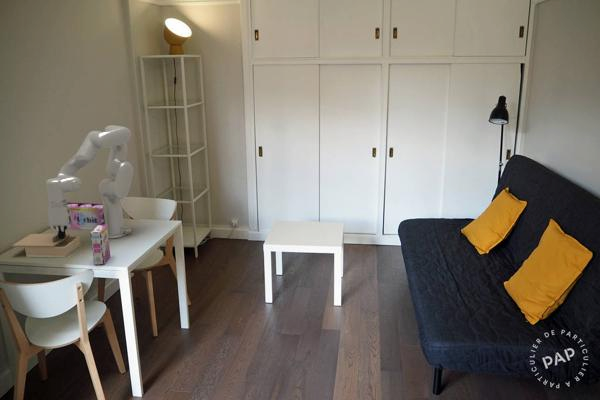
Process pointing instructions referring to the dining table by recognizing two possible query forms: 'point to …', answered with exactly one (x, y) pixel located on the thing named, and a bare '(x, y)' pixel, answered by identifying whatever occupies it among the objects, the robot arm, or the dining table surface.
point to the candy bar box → (100, 244)
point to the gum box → (86, 215)
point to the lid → (40, 240)
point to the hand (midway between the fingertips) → (62, 238)
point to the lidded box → (55, 248)
